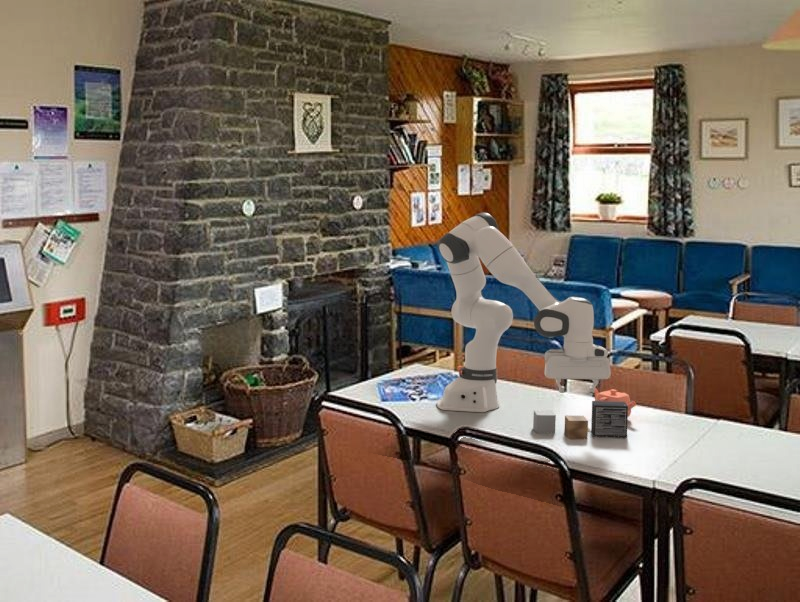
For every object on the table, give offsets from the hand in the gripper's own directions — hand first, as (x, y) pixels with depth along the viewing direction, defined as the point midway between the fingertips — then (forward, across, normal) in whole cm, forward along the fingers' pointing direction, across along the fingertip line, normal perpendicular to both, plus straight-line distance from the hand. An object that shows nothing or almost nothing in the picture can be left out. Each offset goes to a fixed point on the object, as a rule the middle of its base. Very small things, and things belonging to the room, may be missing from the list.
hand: (576, 392), depth 253 cm
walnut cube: (+14, 0, 0) cm, 14 cm away
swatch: (+14, +3, +9) cm, 17 cm away
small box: (+14, +11, +2) cm, 19 cm away
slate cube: (+14, -9, +6) cm, 18 cm away
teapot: (+14, +17, +22) cm, 31 cm away
